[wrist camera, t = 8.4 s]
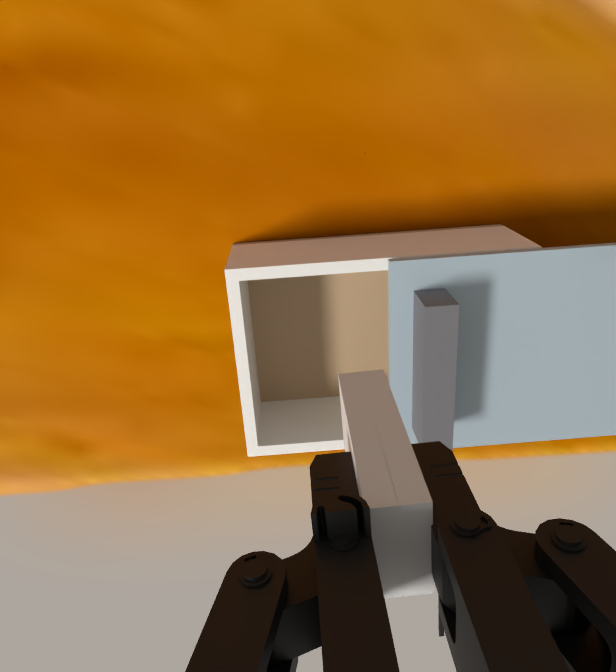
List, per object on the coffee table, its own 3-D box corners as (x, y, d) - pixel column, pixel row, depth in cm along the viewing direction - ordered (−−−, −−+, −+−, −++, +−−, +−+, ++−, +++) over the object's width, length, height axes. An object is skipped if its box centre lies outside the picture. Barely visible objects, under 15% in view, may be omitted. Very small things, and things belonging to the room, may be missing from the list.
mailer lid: (704, 235, 35) (748, 250, 32) (662, 426, 40) (696, 455, 37) (388, 259, 35) (399, 275, 31) (389, 447, 40) (398, 479, 37)
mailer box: (501, 224, 41) (541, 246, 35) (488, 389, 47) (522, 435, 40) (233, 243, 41) (224, 269, 35) (252, 407, 47) (248, 456, 40)
